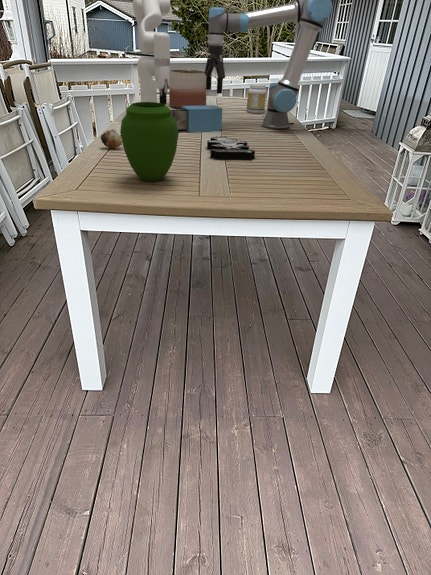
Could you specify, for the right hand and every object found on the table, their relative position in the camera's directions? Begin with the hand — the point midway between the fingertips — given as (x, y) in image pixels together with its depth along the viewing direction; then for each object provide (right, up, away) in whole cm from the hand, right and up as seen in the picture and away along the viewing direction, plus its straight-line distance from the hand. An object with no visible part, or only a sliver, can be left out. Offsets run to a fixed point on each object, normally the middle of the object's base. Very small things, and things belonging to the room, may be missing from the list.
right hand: (213, 91), depth 215 cm
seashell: (-44, -42, -35) cm, 71 cm away
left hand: (-26, -10, -8) cm, 29 cm away
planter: (-18, +22, +69) cm, 75 cm away
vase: (-22, -64, -69) cm, 96 cm away
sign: (+7, -41, -30) cm, 51 cm away
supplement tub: (+28, +17, +64) cm, 72 cm away
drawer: (-19, -19, +2) cm, 27 cm away
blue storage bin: (-7, -17, +8) cm, 20 cm away
